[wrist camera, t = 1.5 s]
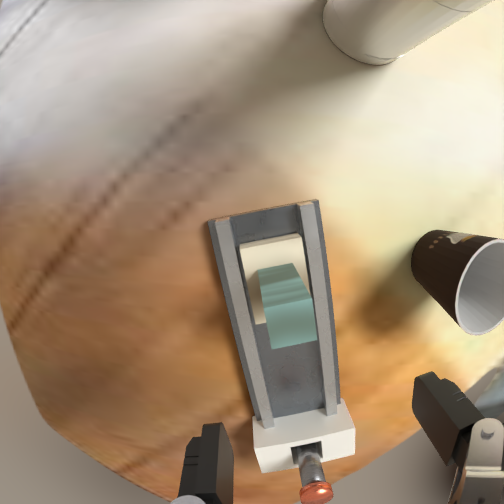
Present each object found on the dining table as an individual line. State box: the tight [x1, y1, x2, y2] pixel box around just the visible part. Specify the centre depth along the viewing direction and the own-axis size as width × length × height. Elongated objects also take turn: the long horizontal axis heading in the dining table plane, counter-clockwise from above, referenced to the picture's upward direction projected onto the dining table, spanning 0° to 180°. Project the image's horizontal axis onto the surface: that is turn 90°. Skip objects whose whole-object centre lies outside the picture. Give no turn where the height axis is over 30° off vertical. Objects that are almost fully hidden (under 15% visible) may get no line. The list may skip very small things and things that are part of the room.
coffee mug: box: [411, 230, 504, 335], centre depth 26 cm, size 12×9×10 cm
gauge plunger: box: [295, 442, 333, 504], centre depth 28 cm, size 3×3×9 cm
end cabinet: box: [252, 398, 355, 473], centre depth 33 cm, size 5×11×6 cm, turn 101°
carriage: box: [240, 233, 317, 349], centre depth 25 cm, size 7×5×10 cm
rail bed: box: [208, 199, 341, 429], centre depth 31 cm, size 27×10×3 cm, turn 11°
